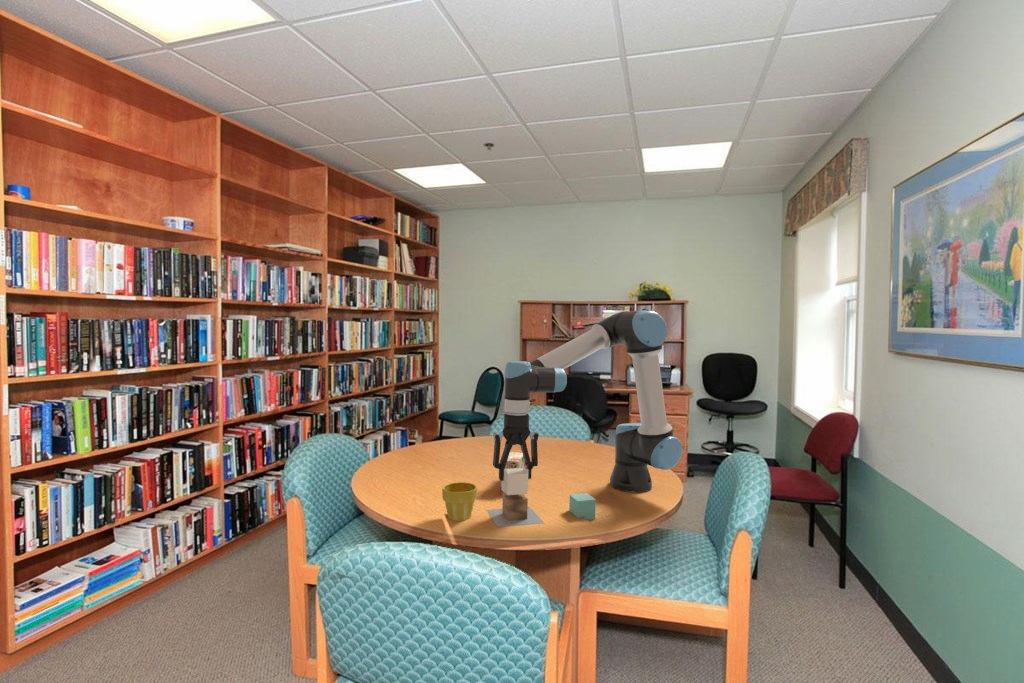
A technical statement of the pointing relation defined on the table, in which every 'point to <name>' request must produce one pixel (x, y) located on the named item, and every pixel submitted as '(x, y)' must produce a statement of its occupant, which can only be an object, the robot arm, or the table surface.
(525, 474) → the cream cube
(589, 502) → the teal cube
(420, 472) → the table surface
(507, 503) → the walnut cube
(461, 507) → the plant pot
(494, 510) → the plate
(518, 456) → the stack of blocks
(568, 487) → the table surface
